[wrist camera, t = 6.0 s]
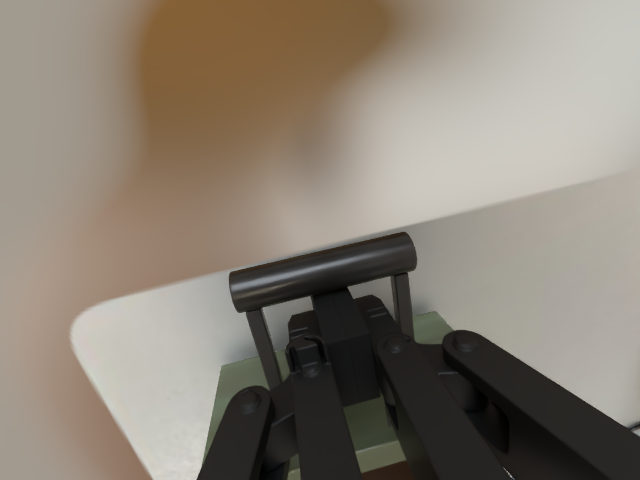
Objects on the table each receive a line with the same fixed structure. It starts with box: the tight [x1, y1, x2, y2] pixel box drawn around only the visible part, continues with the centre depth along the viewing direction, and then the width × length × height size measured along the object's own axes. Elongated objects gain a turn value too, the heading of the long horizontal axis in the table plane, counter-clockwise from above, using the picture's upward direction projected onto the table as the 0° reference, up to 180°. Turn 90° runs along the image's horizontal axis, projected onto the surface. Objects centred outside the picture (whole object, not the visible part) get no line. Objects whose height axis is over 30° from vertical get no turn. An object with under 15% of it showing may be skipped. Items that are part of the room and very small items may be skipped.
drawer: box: [202, 232, 454, 480], centre depth 16 cm, size 21×13×7 cm, turn 11°
